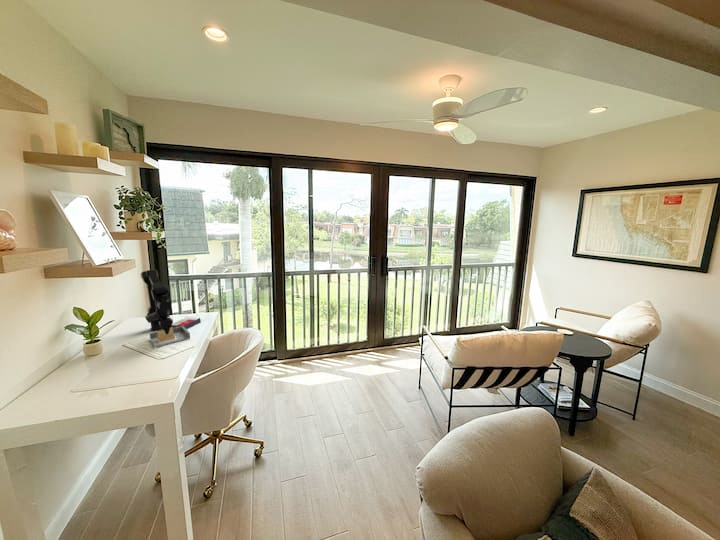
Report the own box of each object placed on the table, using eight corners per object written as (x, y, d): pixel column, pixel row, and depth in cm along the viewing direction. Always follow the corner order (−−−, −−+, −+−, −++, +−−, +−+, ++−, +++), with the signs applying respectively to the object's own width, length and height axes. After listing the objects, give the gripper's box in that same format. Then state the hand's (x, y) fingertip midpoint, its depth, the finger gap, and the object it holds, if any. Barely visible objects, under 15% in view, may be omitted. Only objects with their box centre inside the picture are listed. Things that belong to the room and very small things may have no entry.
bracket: (173, 336, 178) (172, 327, 177) (175, 338, 175) (174, 329, 174) (158, 340, 173) (156, 330, 172) (159, 342, 169) (158, 333, 168)
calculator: (169, 324, 192) (187, 316, 206) (170, 330, 193) (188, 321, 207) (183, 325, 189) (200, 317, 204) (184, 331, 190) (201, 322, 205)
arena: (150, 339, 176) (149, 333, 176) (183, 331, 189) (183, 325, 188) (154, 348, 165) (153, 341, 164) (190, 338, 177) (189, 332, 176)
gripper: (142, 306, 173) (146, 331, 176) (147, 314, 159) (151, 340, 162) (164, 302, 180) (168, 326, 183) (171, 309, 167) (174, 335, 170)
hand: (165, 332), depth 174 cm, fingers open, 9 cm apart
